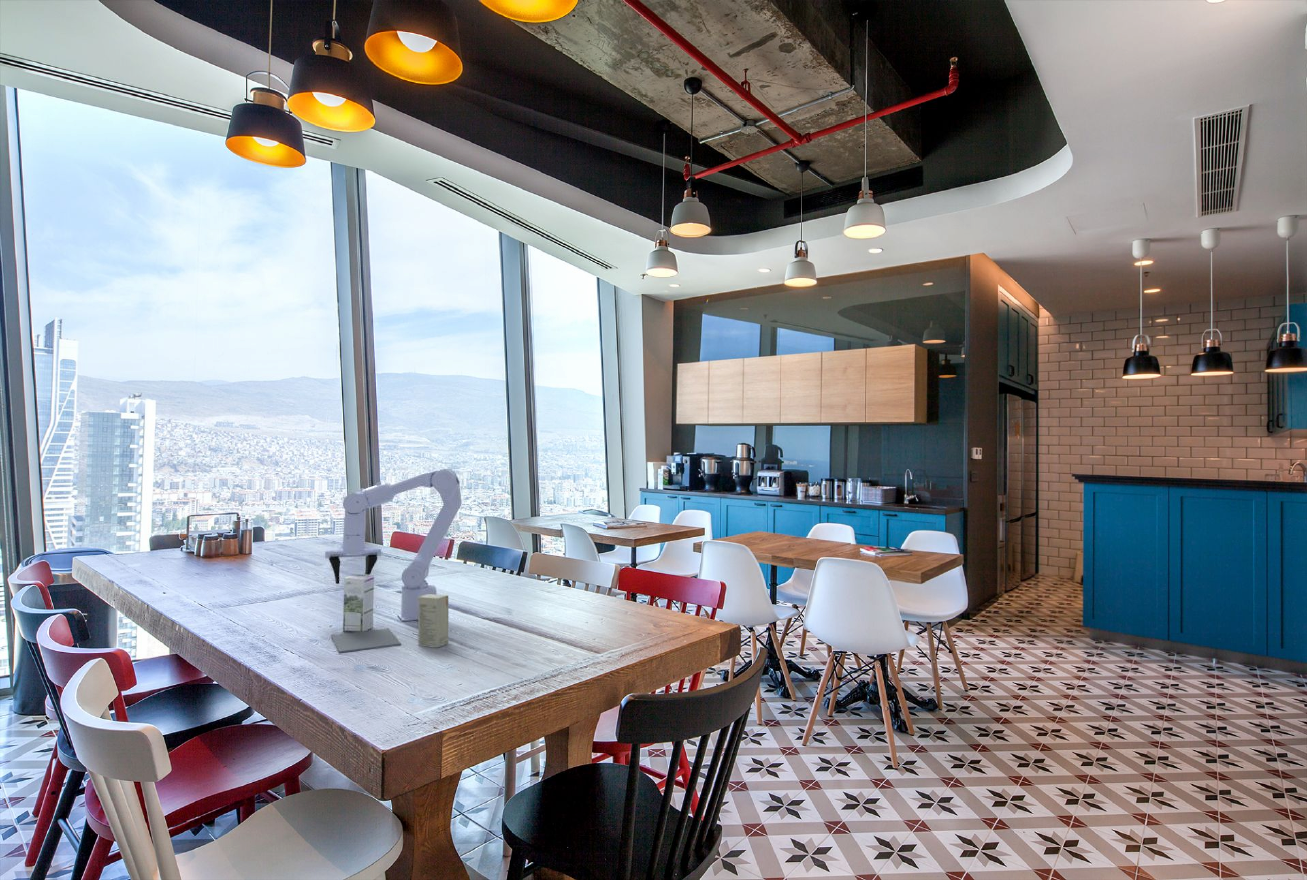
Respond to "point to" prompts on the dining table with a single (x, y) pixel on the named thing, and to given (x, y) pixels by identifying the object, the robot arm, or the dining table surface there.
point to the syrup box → (358, 603)
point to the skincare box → (433, 620)
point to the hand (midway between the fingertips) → (352, 582)
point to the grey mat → (364, 640)
